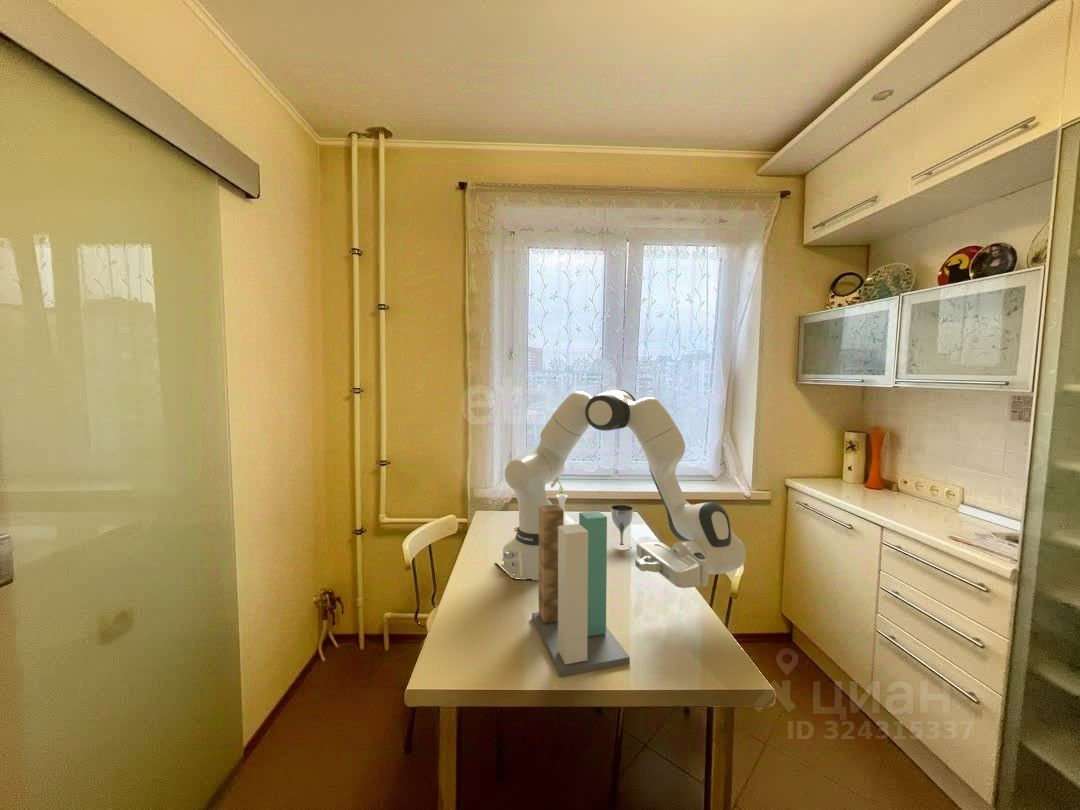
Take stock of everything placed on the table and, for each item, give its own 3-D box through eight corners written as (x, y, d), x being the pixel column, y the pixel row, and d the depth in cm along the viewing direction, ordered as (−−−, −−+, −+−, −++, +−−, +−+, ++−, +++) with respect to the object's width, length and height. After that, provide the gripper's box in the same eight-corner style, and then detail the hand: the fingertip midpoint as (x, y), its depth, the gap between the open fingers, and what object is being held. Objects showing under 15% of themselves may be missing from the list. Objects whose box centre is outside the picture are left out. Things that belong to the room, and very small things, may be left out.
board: (589, 609, 114) (589, 604, 114) (629, 663, 92) (629, 657, 92) (532, 618, 110) (532, 613, 110) (559, 677, 88) (559, 670, 88)
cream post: (578, 646, 95) (579, 524, 94) (587, 660, 90) (588, 531, 89) (557, 650, 94) (558, 526, 93) (565, 664, 89) (565, 533, 88)
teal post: (597, 622, 105) (598, 511, 104) (606, 633, 100) (606, 517, 99) (578, 625, 104) (579, 512, 102) (586, 636, 99) (587, 518, 98)
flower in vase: (553, 522, 188) (553, 466, 187) (578, 525, 184) (578, 468, 183) (543, 531, 176) (543, 471, 175) (569, 535, 172) (569, 474, 171)
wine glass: (636, 548, 158) (637, 508, 157) (620, 552, 154) (620, 511, 153) (622, 541, 165) (623, 503, 164) (606, 545, 161) (606, 506, 160)
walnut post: (557, 610, 111) (557, 504, 109) (563, 620, 106) (563, 510, 105) (538, 613, 109) (538, 506, 108) (544, 623, 104) (544, 511, 103)
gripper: (664, 533, 118) (619, 538, 114) (712, 563, 98) (660, 570, 95) (663, 555, 118) (618, 561, 115) (712, 589, 99) (659, 597, 95)
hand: (637, 565), depth 105 cm, fingers closed
